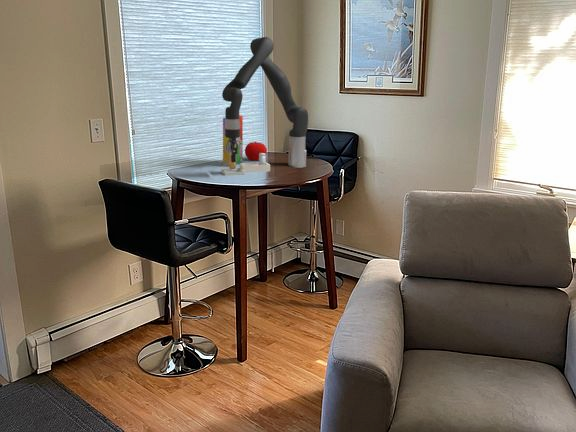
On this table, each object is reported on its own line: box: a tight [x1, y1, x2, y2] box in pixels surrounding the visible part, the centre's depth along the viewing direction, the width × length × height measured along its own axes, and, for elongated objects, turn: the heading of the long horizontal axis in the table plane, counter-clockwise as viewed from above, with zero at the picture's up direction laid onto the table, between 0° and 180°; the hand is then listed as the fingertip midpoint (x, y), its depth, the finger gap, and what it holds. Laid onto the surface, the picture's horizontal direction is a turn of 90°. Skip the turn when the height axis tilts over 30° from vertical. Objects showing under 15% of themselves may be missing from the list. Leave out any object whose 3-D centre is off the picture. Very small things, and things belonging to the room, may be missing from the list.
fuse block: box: [239, 161, 271, 173], centre depth 287 cm, size 15×7×4 cm, turn 109°
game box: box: [222, 114, 244, 168], centre depth 303 cm, size 21×6×27 cm, turn 168°
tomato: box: [244, 141, 268, 161], centre depth 323 cm, size 12×13×11 cm
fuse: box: [258, 153, 266, 165], centre depth 288 cm, size 3×3×9 cm
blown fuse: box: [228, 153, 237, 172], centre depth 278 cm, size 3×3×9 cm
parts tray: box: [220, 167, 245, 176], centre depth 280 cm, size 10×10×2 cm
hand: (232, 161), depth 278 cm, fingers closed on blown fuse, 3 cm apart
